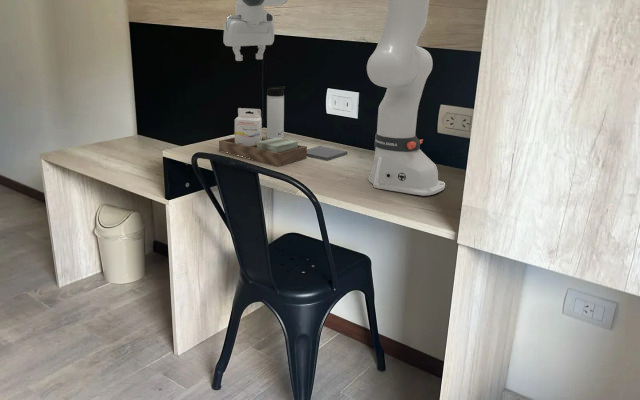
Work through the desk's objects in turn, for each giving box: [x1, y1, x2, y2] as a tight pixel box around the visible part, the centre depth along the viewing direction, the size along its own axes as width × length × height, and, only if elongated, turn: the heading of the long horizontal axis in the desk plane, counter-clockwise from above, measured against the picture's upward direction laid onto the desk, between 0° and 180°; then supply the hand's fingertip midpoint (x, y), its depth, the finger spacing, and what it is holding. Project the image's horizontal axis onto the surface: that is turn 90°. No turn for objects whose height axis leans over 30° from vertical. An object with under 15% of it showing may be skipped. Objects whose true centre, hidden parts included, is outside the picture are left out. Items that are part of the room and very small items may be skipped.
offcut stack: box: [257, 137, 299, 153], centre depth 184 cm, size 10×11×6 cm
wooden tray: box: [218, 136, 308, 167], centre depth 188 cm, size 27×14×4 cm, turn 53°
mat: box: [307, 145, 348, 162], centre depth 192 cm, size 12×12×1 cm
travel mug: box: [266, 86, 286, 139], centre depth 208 cm, size 6×7×20 cm
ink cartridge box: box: [234, 107, 263, 146], centre depth 190 cm, size 9×5×15 cm, turn 84°
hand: (249, 60), depth 182 cm, fingers open, 8 cm apart
